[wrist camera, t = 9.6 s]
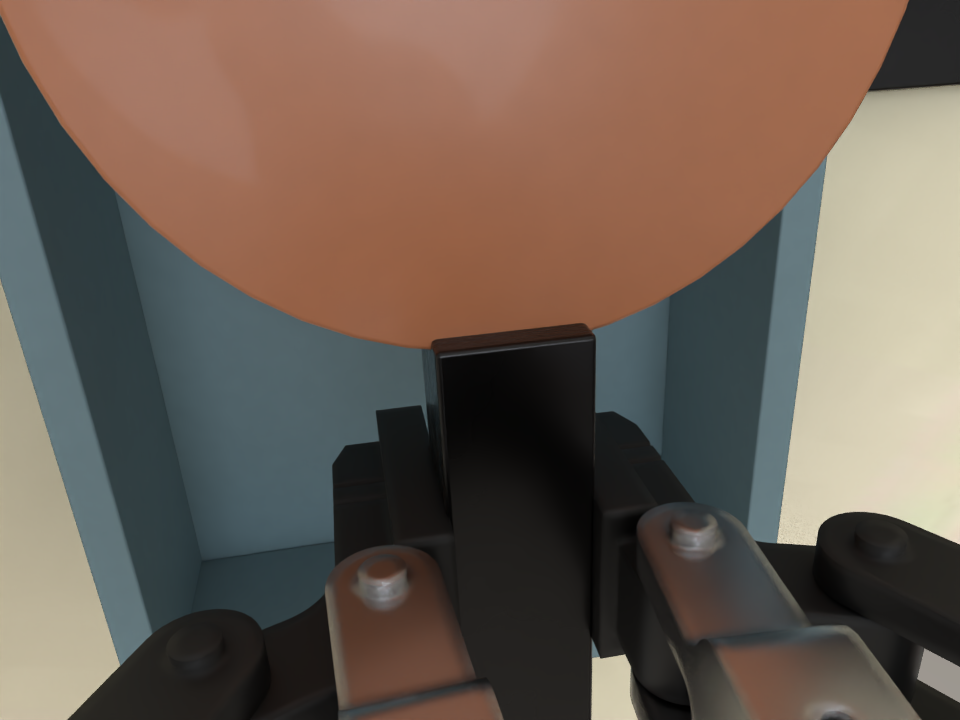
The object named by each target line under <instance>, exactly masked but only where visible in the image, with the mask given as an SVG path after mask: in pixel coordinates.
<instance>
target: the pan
mask: <svg viewBox="0 0 960 720" xmlns="http://www.w3.org/2000/svg"><path fill="white" fill-rule="evenodd" d="M908 1H909V0H0V15H1V17H2V20H3V22H4V24H5V26H6V28H7V30H8V32H9V35H10V37H11V39H12V41H13V43H14V45H15V47H16V49H17V52H18V54H19V56H20V58H21V60H22V62H23V64H24V66H25V67H26V69H27V71H28V72H29V74H30V75H31V77H32V79H33V80H34V82H35V83H36V85H37V87H38V88H39V90H40V92H41V93H42V95H43V96H44V98H45V100H46V101H47V103H48V105H49V106H50V108H51V109H52V111H53V113H54V114H55V116H56V118H57V119H58V121H59V122H60V124H61V126H62V127H63V128H64V129H65V131H66V132H67V133H68V134H69V136H70V137H71V138H72V140H73V141H74V142H75V143H76V145H77V146H78V147H79V148H80V150H81V151H82V152H83V154H84V155H85V156H86V157H87V159H88V160H89V161H90V162H91V164H92V165H93V166H94V167H95V169H96V170H97V171H98V173H99V174H100V175H101V176H102V178H103V179H104V180H105V181H106V182H107V183H108V184H109V185H110V186H111V187H112V188H113V189H114V190H115V191H116V192H117V193H118V194H119V195H120V196H121V197H122V198H123V199H124V200H125V201H126V202H127V203H128V204H129V205H130V206H131V207H132V208H133V209H134V210H135V211H136V212H137V213H138V214H139V215H140V216H141V217H142V218H143V219H144V220H145V221H146V222H147V223H148V224H149V225H150V226H151V227H152V228H153V229H154V230H156V231H157V232H158V233H159V234H161V235H162V236H163V237H164V238H166V239H167V240H168V241H169V242H171V243H172V244H173V245H174V246H176V247H177V248H178V249H179V250H181V251H182V252H183V253H184V254H186V255H187V256H188V257H189V258H191V259H192V260H193V261H195V262H196V263H197V264H198V265H200V266H201V267H203V268H204V269H206V270H208V271H209V272H211V273H212V274H214V275H216V276H217V277H219V278H221V279H222V280H224V281H225V282H227V283H229V284H230V285H232V286H233V287H235V288H237V289H238V290H240V291H242V292H243V293H245V294H246V295H248V296H250V297H252V298H254V299H256V300H258V301H260V302H262V303H264V304H267V305H269V306H271V307H273V308H275V309H277V310H280V311H282V312H284V313H286V314H288V315H290V316H292V317H295V318H297V319H299V320H301V321H304V322H307V323H310V324H313V325H316V326H319V327H322V328H325V329H329V330H332V331H335V332H338V333H341V334H344V335H347V336H350V337H353V338H358V339H363V340H368V341H373V342H378V343H384V344H389V345H394V346H399V347H404V348H415V349H421V350H422V362H423V374H424V385H425V397H426V409H427V421H428V433H429V445H430V449H431V453H432V457H433V462H434V466H435V470H436V474H437V478H438V482H439V486H440V490H441V494H442V498H443V502H444V506H445V510H446V514H447V516H448V517H449V518H450V521H451V525H452V529H453V533H454V538H455V551H456V565H457V579H458V593H459V607H460V621H461V633H462V636H463V639H464V642H465V645H466V648H467V651H468V654H469V657H470V660H471V663H472V666H473V669H474V672H475V675H476V678H482V677H486V678H487V679H488V680H489V682H490V684H491V686H492V688H493V691H494V694H495V696H496V699H497V702H498V705H499V708H500V711H501V713H502V716H503V719H504V720H591V705H592V571H593V498H594V477H595V401H596V337H595V335H594V333H593V332H592V331H591V330H594V329H597V328H600V327H604V326H607V325H610V324H612V323H614V322H617V321H619V320H621V319H623V318H626V317H628V316H630V315H632V314H635V313H637V312H639V311H642V310H644V309H646V308H648V307H651V306H653V305H655V304H657V303H659V302H660V301H662V300H664V299H665V298H667V297H669V296H671V295H672V294H674V293H676V292H677V291H679V290H681V289H683V288H684V287H686V286H688V285H689V284H691V283H693V282H695V281H696V280H698V279H700V278H701V277H702V276H704V275H705V274H706V273H708V272H709V271H710V270H712V269H713V268H714V267H716V266H717V265H718V264H720V263H721V262H722V261H724V260H725V259H727V258H728V257H729V256H731V255H732V254H733V253H735V252H736V251H737V250H739V249H740V248H741V247H742V246H744V245H745V244H746V243H747V242H748V241H749V240H750V239H751V238H752V237H753V236H754V235H755V234H756V233H758V232H759V231H760V230H761V229H762V228H763V227H764V226H765V225H766V224H767V223H768V222H769V221H770V220H771V219H773V218H774V217H775V216H776V215H777V214H778V213H779V212H780V211H781V210H782V209H783V208H784V207H785V206H786V204H787V203H788V202H789V201H790V200H791V199H792V197H793V196H794V195H795V194H796V193H797V192H798V191H799V189H800V188H801V187H802V186H803V185H804V184H805V182H806V181H807V180H808V179H809V178H810V177H811V176H812V174H813V173H814V172H815V171H816V170H817V169H818V167H819V166H820V165H821V163H822V162H823V160H824V159H825V157H826V156H827V155H828V153H829V152H830V150H831V149H832V147H833V146H834V144H835V143H836V142H837V140H838V139H839V137H840V136H841V134H842V133H843V132H844V130H845V129H846V127H847V126H848V124H849V123H850V122H851V120H852V118H853V117H854V115H855V113H856V111H857V109H858V108H859V106H860V104H861V102H862V100H863V99H864V97H865V95H866V93H867V91H868V90H869V88H870V86H871V84H872V82H873V81H874V79H875V77H876V75H877V73H878V72H879V70H880V68H881V66H882V64H883V61H884V59H885V57H886V54H887V52H888V50H889V47H890V45H891V43H892V40H893V38H894V36H895V33H896V31H897V29H898V26H899V24H900V22H901V20H902V17H903V15H904V13H905V10H906V7H907V4H908Z"/></svg>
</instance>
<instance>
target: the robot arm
mask: <svg viewBox="0 0 960 720" xmlns="http://www.w3.org/2000/svg"><path fill="white" fill-rule="evenodd" d="M376 420H377V429H378V438H379V441H376V442H368V443H360V444H353V445H345V447H344V448H343V450H342V451H341V453H340V454H339V455H338V457H337V458H336V460H335V461H334V463H333V464H332V479H333V505H334V506H333V516H334V553H335V568H334V569H333V570H332V572H331V573H330V575H329V576H328V578H327V581H326V584H325V593H324V595H323V596H322V597H321V598H320V599H319V600H318V601H317V602H316V603H315V604H313V605H312V606H311V607H309V608H308V609H306V610H305V611H303V612H301V613H300V614H298V615H296V616H294V617H292V618H290V619H287V620H285V621H282V622H280V623H277V624H275V625H272V626H270V627H267V628H265V629H261V627H260V626H259V624H258V623H257V622H256V621H255V620H254V619H253V618H252V617H250V616H248V615H247V614H245V613H242V612H239V611H236V610H229V609H210V610H203V611H198V612H194V613H191V614H188V615H185V616H182V617H180V618H178V619H175V620H173V621H171V622H170V623H168V624H166V625H164V626H163V627H161V628H160V629H158V630H157V631H155V632H154V633H153V634H152V635H151V636H150V637H148V638H147V639H146V640H145V641H144V642H143V643H142V644H141V645H140V646H139V647H138V648H137V649H136V650H135V651H134V652H133V653H132V654H131V655H130V656H129V657H128V658H127V660H126V661H125V662H124V663H123V664H122V665H121V666H120V667H119V668H118V669H117V670H116V671H115V672H114V673H113V674H112V675H111V676H110V677H109V678H108V679H107V680H106V681H105V682H104V683H103V684H102V685H101V686H100V687H99V688H98V689H97V690H96V691H95V692H94V693H93V694H92V695H91V696H90V697H89V698H88V699H87V700H86V701H85V702H84V703H83V704H82V705H81V706H80V707H79V708H78V709H77V711H76V712H75V713H74V714H73V715H72V716H71V717H70V718H69V719H68V720H504V719H503V716H502V713H501V711H500V708H499V705H498V702H497V699H496V696H495V694H494V691H493V688H492V686H491V684H490V682H489V680H488V679H487V678H486V677H482V678H476V675H475V672H474V669H473V666H472V663H471V660H470V657H469V654H468V651H467V648H466V645H465V642H464V639H463V636H462V633H461V621H460V607H459V593H458V579H457V565H456V551H455V538H454V533H453V529H452V525H451V521H450V518H449V517H448V516H447V514H446V510H445V506H444V502H443V498H442V494H441V490H440V486H439V482H438V478H437V474H436V470H435V466H434V462H433V457H432V453H431V449H430V445H429V434H428V430H427V426H426V422H425V418H424V414H423V410H422V406H421V405H416V406H408V407H399V408H391V409H383V410H376ZM592 640H593V642H594V644H595V647H596V649H597V652H598V654H599V656H600V659H601V658H607V657H612V656H618V655H624V654H625V655H626V657H627V659H628V661H629V663H630V666H631V678H630V697H631V701H632V704H633V707H634V710H635V713H636V715H637V718H638V720H960V703H959V702H957V701H955V700H953V699H952V698H950V697H948V696H946V695H945V694H943V693H941V692H939V691H937V690H936V689H934V688H932V687H930V686H928V685H927V684H925V683H923V682H921V681H919V680H918V679H917V677H918V673H919V669H920V664H921V660H922V656H923V652H924V648H925V649H927V650H929V651H931V652H933V653H935V654H937V655H939V656H941V657H942V658H944V659H946V660H948V661H950V662H952V663H954V664H956V665H958V666H959V667H960V545H959V544H957V543H955V542H952V541H950V540H947V539H945V538H943V537H940V536H938V535H936V534H933V533H931V532H929V531H926V530H924V529H922V528H919V527H917V526H915V525H912V524H910V523H907V522H905V521H902V520H900V519H897V518H894V517H890V516H887V515H882V514H877V513H869V512H850V513H843V514H838V515H836V516H833V517H831V518H829V519H827V520H826V521H825V522H824V523H823V524H822V525H821V526H820V528H819V530H818V537H817V543H816V546H810V545H794V544H779V543H767V542H760V541H755V540H754V539H753V538H752V536H751V535H750V533H749V532H748V530H747V529H746V527H745V526H744V525H743V524H742V523H741V522H740V521H739V520H738V519H737V518H735V517H734V516H732V515H731V514H729V513H728V512H725V511H723V510H721V509H719V508H716V507H713V506H710V505H706V504H701V503H695V501H694V500H693V499H692V497H691V496H690V495H689V493H688V492H687V491H686V489H685V488H684V487H683V485H682V484H681V483H680V481H679V480H678V479H677V477H676V476H675V475H674V473H673V472H672V471H671V469H670V468H669V467H668V465H667V464H666V463H665V461H664V460H661V456H660V455H659V453H658V452H657V451H656V449H655V448H654V447H653V445H652V446H651V445H650V441H649V440H648V439H647V437H646V436H645V435H644V433H643V432H642V431H641V429H640V428H639V427H638V425H637V424H635V423H633V422H632V421H630V420H628V419H626V418H625V417H623V416H621V415H619V414H618V413H616V412H614V411H609V412H601V413H596V412H595V477H594V498H593V571H592Z"/></svg>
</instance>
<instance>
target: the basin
mask: <svg viewBox="0 0 960 720" xmlns="http://www.w3.org/2000/svg"><path fill="white" fill-rule="evenodd" d="M826 160H827V156H826V157H825V159H824V160H823V162H822V163H821V165H820V166H819V167H818V169H817V170H816V171H815V172H814V173H813V174H812V176H811V177H810V178H809V179H808V180H807V181H806V182H805V184H804V185H803V186H802V187H801V188H800V189H799V191H798V192H797V193H796V194H795V195H794V196H793V197H792V199H791V200H790V201H789V202H788V203H787V204H786V206H785V207H784V208H783V209H782V210H781V211H780V212H779V213H778V214H777V215H776V216H775V217H774V218H773V219H771V220H770V221H769V222H768V223H767V224H766V225H765V226H764V227H763V228H762V229H761V230H760V231H759V232H758V233H756V234H755V235H754V236H753V237H752V238H751V239H750V240H749V241H748V242H747V243H746V244H745V245H744V246H742V247H741V248H740V249H739V250H737V251H736V252H735V253H733V254H732V255H731V256H729V257H728V258H727V259H725V260H724V261H722V262H721V263H720V264H718V265H717V266H716V267H714V268H713V269H712V270H710V271H709V272H708V273H706V274H705V275H704V276H702V277H701V278H700V279H698V280H696V281H695V282H693V283H691V284H689V285H688V286H686V287H684V288H683V289H681V290H679V291H677V292H676V293H674V294H672V295H671V296H669V297H667V298H665V299H664V300H662V301H660V302H659V303H657V304H655V305H653V306H651V307H648V308H646V309H644V310H642V311H639V312H637V313H635V314H632V315H630V316H628V317H626V318H623V319H621V320H619V321H617V322H614V323H612V324H610V325H607V326H604V327H600V328H597V329H594V330H591V331H592V332H593V333H594V335H595V337H596V401H595V412H596V413H601V412H609V411H614V412H616V413H618V414H619V415H621V416H623V417H625V418H626V419H628V420H630V421H632V422H633V423H635V424H637V425H638V427H639V428H640V429H641V431H642V432H643V433H644V435H645V436H646V437H647V439H648V440H649V441H650V445H651V446H652V445H653V447H654V448H655V449H656V451H657V452H658V453H659V455H660V456H661V460H664V461H665V463H666V464H667V465H668V467H669V468H670V469H671V471H672V472H673V473H674V475H675V476H676V477H677V479H678V480H679V481H680V483H681V484H682V485H683V487H684V488H685V489H686V491H687V492H688V493H689V495H690V496H691V497H692V499H693V500H694V501H695V503H701V504H706V505H710V506H713V507H716V508H719V509H721V510H723V511H725V512H728V513H729V514H731V515H732V516H734V517H735V518H737V519H738V520H739V521H740V522H741V523H742V524H743V525H744V526H745V527H746V529H747V530H748V532H749V533H750V535H751V536H752V538H753V539H754V540H755V541H760V542H767V543H777V537H778V529H779V522H780V514H781V506H782V499H783V491H784V483H785V476H786V468H787V460H788V453H789V445H790V437H791V430H792V422H793V414H794V406H795V399H796V391H797V383H798V376H799V368H800V360H801V353H802V345H803V337H804V330H805V322H806V314H807V306H808V299H809V291H810V283H811V276H812V268H813V260H814V253H815V245H816V237H817V230H818V222H819V214H820V207H821V199H822V191H823V183H824V176H825V168H826ZM0 279H1V283H2V286H3V289H4V292H5V296H6V299H7V302H8V305H9V308H10V312H11V315H12V318H13V321H14V325H15V328H16V331H17V334H18V337H19V341H20V344H21V347H22V350H23V354H24V357H25V360H26V363H27V366H28V370H29V373H30V376H31V379H32V383H33V386H34V389H35V392H36V395H37V399H38V402H39V405H40V408H41V412H42V415H43V418H44V421H45V424H46V428H47V431H48V434H49V437H50V440H51V444H52V447H53V450H54V453H55V457H56V460H57V463H58V466H59V469H60V473H61V476H62V479H63V482H64V486H65V489H66V492H67V495H68V498H69V502H70V505H71V508H72V511H73V515H74V518H75V521H76V524H77V527H78V531H79V534H80V537H81V540H82V544H83V547H84V550H85V553H86V556H87V560H88V563H89V566H90V569H91V573H92V576H93V579H94V582H95V585H96V589H97V592H98V595H99V598H100V602H101V605H102V608H103V611H104V614H105V618H106V621H107V624H108V627H109V631H110V634H111V637H112V640H113V643H114V647H115V650H116V653H117V656H118V660H119V663H120V666H121V665H122V664H123V663H124V662H125V661H126V660H127V658H128V657H129V656H130V655H131V654H132V653H133V652H134V651H135V650H136V649H137V648H138V647H139V646H140V645H141V644H142V643H143V642H144V641H145V640H146V639H147V638H148V637H150V636H151V635H152V634H153V633H154V632H155V631H157V630H158V629H160V628H161V627H163V626H164V625H166V624H168V623H170V622H171V621H173V620H175V619H178V618H180V617H182V616H185V615H188V614H191V613H194V612H198V611H203V610H210V609H229V610H236V611H239V612H242V613H245V614H247V615H248V616H250V617H252V618H253V619H254V620H255V621H256V622H257V623H258V624H259V626H260V627H261V629H265V628H267V627H270V626H272V625H275V624H277V623H280V622H282V621H285V620H287V619H290V618H292V617H294V616H296V615H298V614H300V613H301V612H303V611H305V610H306V609H308V608H309V607H311V606H312V605H313V604H315V603H316V602H317V601H318V600H319V599H320V598H321V597H322V596H323V595H324V593H325V584H326V581H327V578H328V576H329V575H330V573H331V572H332V570H333V569H334V568H335V553H334V516H333V506H334V505H333V479H332V464H333V463H334V461H335V460H336V458H337V457H338V455H339V454H340V453H341V451H342V450H343V448H344V447H345V445H353V444H360V443H368V442H376V441H379V438H378V429H377V420H376V410H383V409H391V408H399V407H408V406H416V405H421V406H422V410H423V414H424V418H425V422H426V426H427V430H428V421H427V409H426V397H425V385H424V374H423V362H422V350H421V349H415V348H404V347H399V346H394V345H389V344H384V343H378V342H373V341H368V340H363V339H358V338H353V337H350V336H347V335H344V334H341V333H338V332H335V331H332V330H329V329H325V328H322V327H319V326H316V325H313V324H310V323H307V322H304V321H301V320H299V319H297V318H295V317H292V316H290V315H288V314H286V313H284V312H282V311H280V310H277V309H275V308H273V307H271V306H269V305H267V304H264V303H262V302H260V301H258V300H256V299H254V298H252V297H250V296H248V295H246V294H245V293H243V292H242V291H240V290H238V289H237V288H235V287H233V286H232V285H230V284H229V283H227V282H225V281H224V280H222V279H221V278H219V277H217V276H216V275H214V274H212V273H211V272H209V271H208V270H206V269H204V268H203V267H201V266H200V265H198V264H197V263H196V262H195V261H193V260H192V259H191V258H189V257H188V256H187V255H186V254H184V253H183V252H182V251H181V250H179V249H178V248H177V247H176V246H174V245H173V244H172V243H171V242H169V241H168V240H167V239H166V238H164V237H163V236H162V235H161V234H159V233H158V232H157V231H156V230H154V229H153V228H152V227H151V226H150V225H149V224H148V223H147V222H146V221H145V220H144V219H143V218H142V217H141V216H140V215H139V214H138V213H137V212H136V211H135V210H134V209H133V208H132V207H131V206H130V205H129V204H128V203H127V202H126V201H125V200H124V199H123V198H122V197H121V196H120V195H119V194H118V193H117V192H116V191H115V190H114V189H113V188H112V187H111V186H110V185H109V184H108V183H107V182H106V181H105V180H104V179H103V178H102V176H101V175H100V174H99V173H98V171H97V170H96V169H95V167H94V166H93V165H92V164H91V162H90V161H89V160H88V159H87V157H86V156H85V155H84V154H83V152H82V151H81V150H80V148H79V147H78V146H77V145H76V143H75V142H74V141H73V140H72V138H71V137H70V136H69V134H68V133H67V132H66V131H65V129H64V128H63V127H62V126H61V124H60V122H59V121H58V119H57V118H56V116H55V114H54V113H53V111H52V109H51V108H50V106H49V105H48V103H47V101H46V100H45V98H44V96H43V95H42V93H41V92H40V90H39V88H38V87H37V85H36V83H35V82H34V80H33V79H32V77H31V75H30V74H29V72H28V71H27V69H26V67H25V66H24V64H23V62H22V60H21V58H20V56H19V54H18V52H17V49H16V47H15V45H14V43H13V41H12V39H11V37H10V35H9V32H8V30H7V28H6V26H5V24H4V22H3V20H2V17H1V15H0ZM428 434H429V433H428ZM594 657H600V656H599V654H598V652H597V649H596V647H595V644H594V642H593V640H592V658H594Z"/></svg>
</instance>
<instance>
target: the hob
mask: <svg viewBox="0 0 960 720" xmlns="http://www.w3.org/2000/svg"><path fill="white" fill-rule="evenodd" d="M953 85H960V0H909V1H908V4H907V7H906V10H905V13H904V15H903V17H902V20H901V22H900V24H899V26H898V29H897V31H896V33H895V36H894V38H893V40H892V43H891V45H890V47H889V50H888V52H887V54H886V57H885V59H884V61H883V64H882V66H881V68H880V70H879V72H878V73H877V75H876V77H875V79H874V81H873V82H872V84H871V86H870V88H869V90H868V91H867V92H875V91H888V90H901V89H914V88H927V87H940V86H953Z"/></svg>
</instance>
